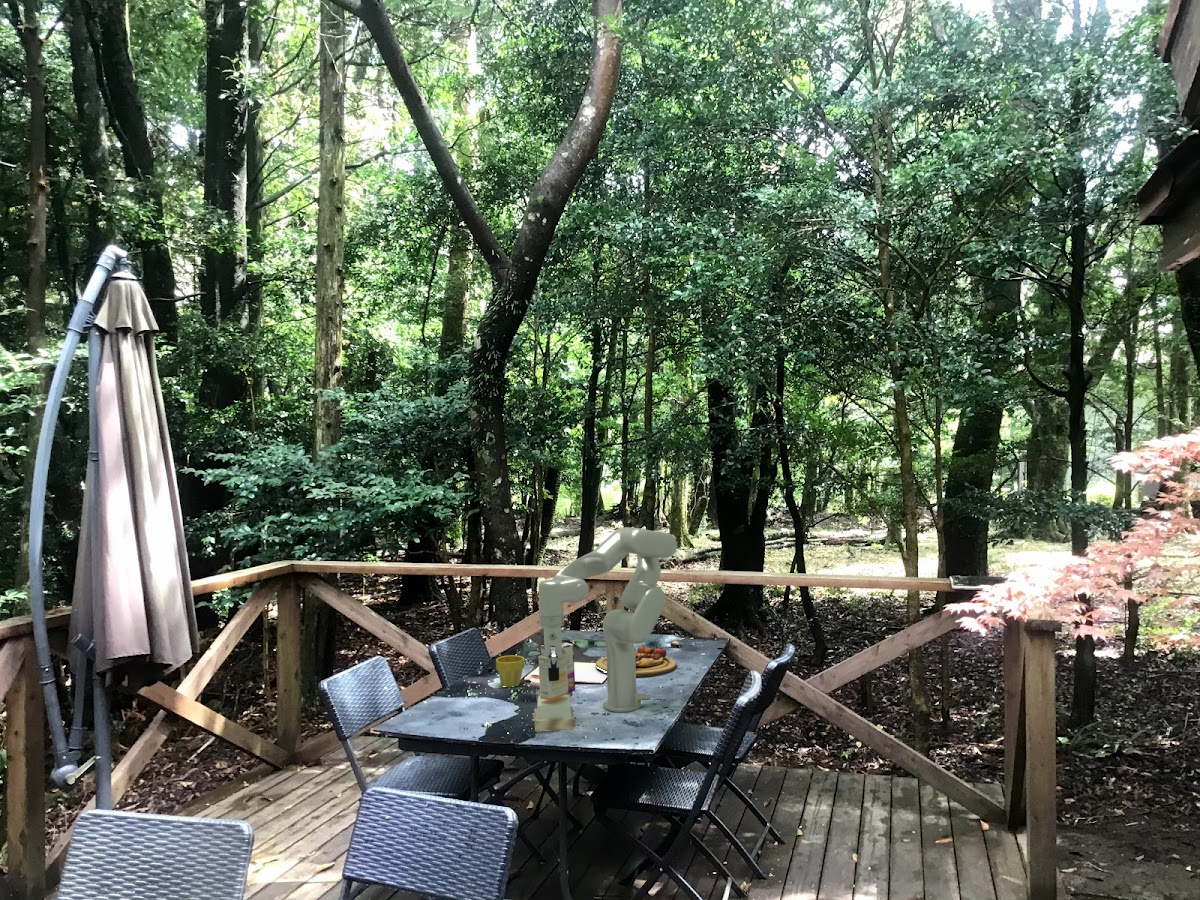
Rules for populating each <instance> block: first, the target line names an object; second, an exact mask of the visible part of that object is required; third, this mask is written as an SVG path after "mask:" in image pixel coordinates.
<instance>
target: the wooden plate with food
mask: <svg viewBox="0 0 1200 900" xmlns="http://www.w3.org/2000/svg"><path fill="white" fill-rule="evenodd" d="M635 657H636V659H635V662H636V678H644V677H647V676H648V677H656V675H657V676H661V674H662V675H665V673H666V674H669V673H672V672H674V671H675V670H676V669H677V666H678V664H677V661H676V660H675V659H673V658H671V657H669V656H667V650H666V649H665V648H662V647H661V648H659V647H658V646H655V648H652V647H651V646H649V647H647V646H646V647H645V645H643V644H642V645H641V646H638V647H637V651H636V649H635ZM595 664H596V665H595V667H596V666H597V667H599V668H601V669H603V670H605V671H607V656H605V657H602V658H599V659H598V660H597V661H596V662H595ZM674 669H675V670H674ZM671 671H672V672H671ZM668 672H669V673H668ZM648 677H647V678H648Z"/></svg>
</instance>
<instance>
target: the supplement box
mask: <svg viewBox="0 0 1200 900" xmlns="http://www.w3.org/2000/svg"><path fill="white" fill-rule="evenodd" d="M537 658H538V673H539V674H538V675H539V677H538V678H539V696H540V698H541V699H545V700H550V701H551V700H554V699H556V698H559V697H561V696H564V695H569V692H568V677H567V653H566V652H562V659H560V658H558V667H559V681H549V675H548V668H549V660H548V659H547V658H546V654H544V655H539V656H538V657H537Z"/></svg>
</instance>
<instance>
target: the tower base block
mask: <svg viewBox="0 0 1200 900" xmlns="http://www.w3.org/2000/svg"><path fill="white" fill-rule="evenodd" d="M570 708H571V718H554V719H538V714H537V708H536V707H535V708H534V709H533V719H534V720H533V721H534V722H533V723H534V733H535V732H538V733H540V732H539V731H554V732H561V731H560V730H570V731H575V730H576V722H575V721H576V719H575V715H574V709H573V706H571V705H570ZM574 729H575V730H574Z"/></svg>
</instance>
